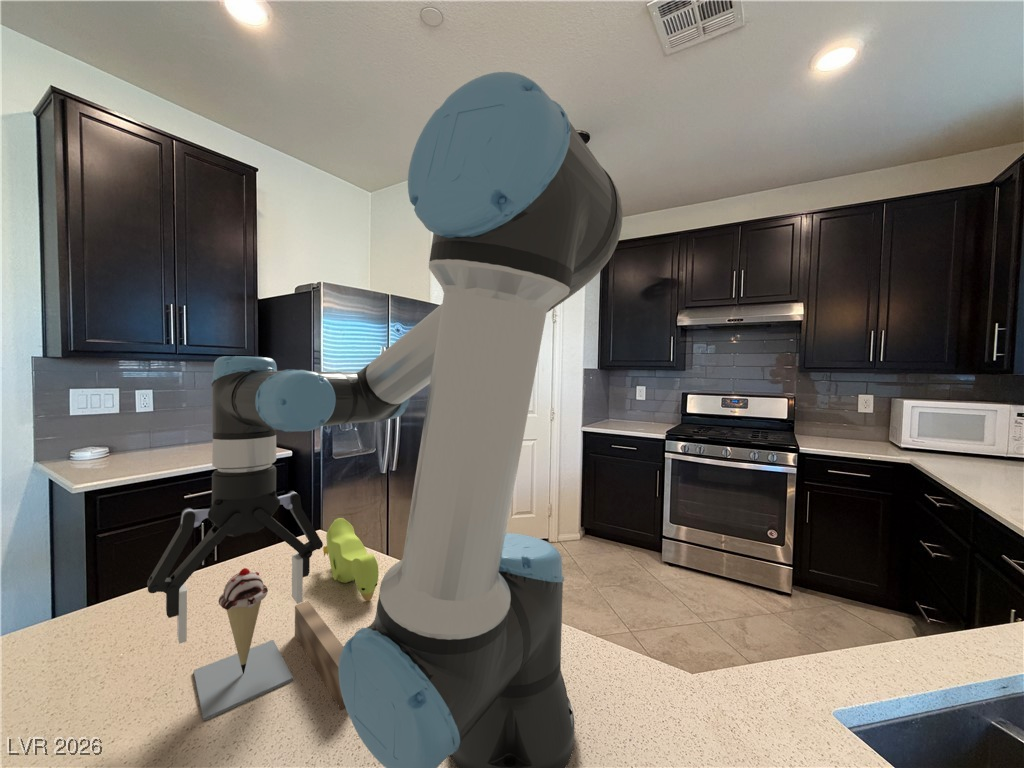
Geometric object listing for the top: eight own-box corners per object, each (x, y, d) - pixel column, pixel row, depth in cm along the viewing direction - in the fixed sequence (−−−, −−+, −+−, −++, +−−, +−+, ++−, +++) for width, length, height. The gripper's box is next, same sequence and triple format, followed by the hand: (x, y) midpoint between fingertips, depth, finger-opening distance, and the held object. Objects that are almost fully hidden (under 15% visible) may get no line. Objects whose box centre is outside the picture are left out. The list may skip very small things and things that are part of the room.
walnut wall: (356, 701, 53) (356, 663, 53) (340, 709, 51) (341, 671, 51) (307, 630, 67) (308, 600, 67) (294, 635, 66) (295, 605, 66)
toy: (322, 603, 86) (357, 608, 72) (315, 523, 90) (347, 514, 76) (351, 593, 90) (390, 595, 77) (343, 517, 94) (378, 507, 81)
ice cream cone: (242, 692, 53) (243, 580, 53) (207, 685, 54) (207, 575, 54) (276, 663, 59) (277, 561, 59) (243, 657, 60) (244, 557, 60)
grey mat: (293, 680, 56) (293, 677, 56) (203, 721, 49) (203, 718, 49) (273, 642, 64) (273, 639, 64) (193, 672, 57) (193, 670, 57)
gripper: (328, 452, 68) (327, 578, 68) (122, 475, 50) (121, 643, 51) (345, 459, 62) (344, 595, 62) (120, 487, 45) (119, 675, 45)
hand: (244, 617), depth 56 cm, fingers open, 13 cm apart
